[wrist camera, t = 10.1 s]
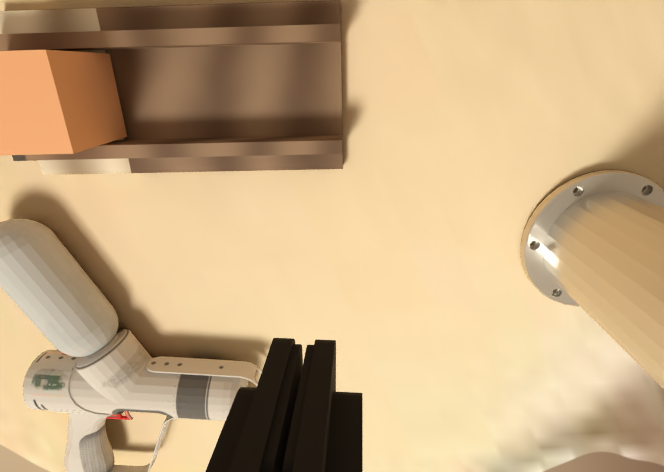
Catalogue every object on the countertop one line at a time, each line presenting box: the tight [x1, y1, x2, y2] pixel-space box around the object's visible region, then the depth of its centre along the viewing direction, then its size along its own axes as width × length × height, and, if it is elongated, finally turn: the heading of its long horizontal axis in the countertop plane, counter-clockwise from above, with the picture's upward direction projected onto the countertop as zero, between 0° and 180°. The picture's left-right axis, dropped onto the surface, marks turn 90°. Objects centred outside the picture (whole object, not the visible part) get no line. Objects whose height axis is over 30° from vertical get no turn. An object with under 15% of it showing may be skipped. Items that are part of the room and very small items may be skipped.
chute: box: [0, 0, 343, 175], centre depth 30 cm, size 25×12×4 cm, turn 91°
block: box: [0, 50, 127, 155], centre depth 28 cm, size 6×6×7 cm
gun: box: [0, 218, 262, 472], centre depth 40 cm, size 6×29×30 cm
